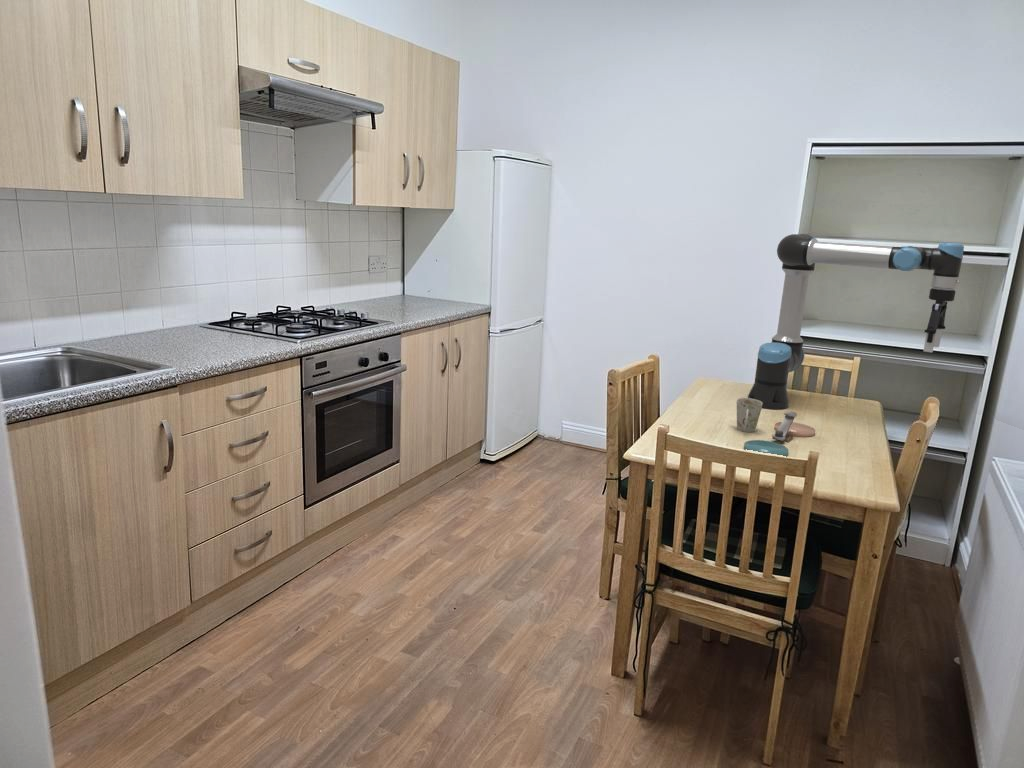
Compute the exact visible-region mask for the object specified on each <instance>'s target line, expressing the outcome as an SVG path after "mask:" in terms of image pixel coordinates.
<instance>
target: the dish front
mask: <svg viewBox="0 0 1024 768" xmlns="http://www.w3.org/2000/svg"><path fill="white" fill-rule="evenodd" d="M743 444H744V445H743V449H744V450H745V449H747V450H753V451H758V452H763V453H771V454H777V455H783V456H786V457H787V456H789V449H788V447H786V446H785V445H783V444H781V443H778V442H775V441H769V440H760V439H759V440H758V439H751V440H747V441H746V442H744V443H743Z"/></svg>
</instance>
